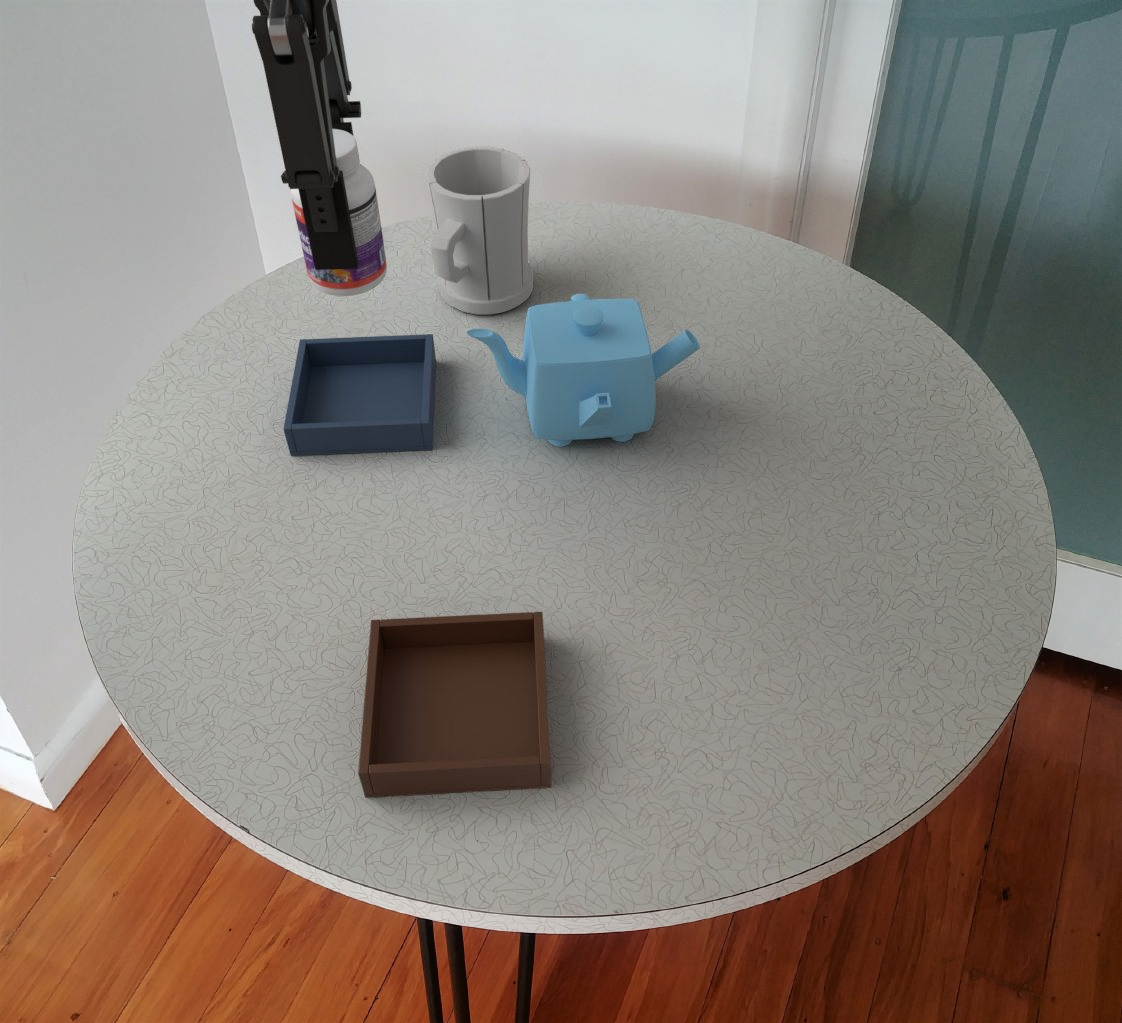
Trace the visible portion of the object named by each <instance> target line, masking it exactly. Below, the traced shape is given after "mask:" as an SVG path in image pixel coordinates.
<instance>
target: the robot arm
mask: <svg viewBox="0 0 1122 1023" xmlns="http://www.w3.org/2000/svg"><path fill="white" fill-rule="evenodd" d="M253 4H254V6H255V7H256V8H257V10H258V11H259V15H253V16H252V20H251V21H252V23H251V31H252V34H253V35H254V38H255V42H256V45H257V49H258V51H259V55H260V57H261V61H262V64H263V69H264V75H265V79H266V84H267V88H268V93H269V99H270V103H271V107H272V113H273V117H274V123H275V127H276V132H277V137H278V142H279V146H280V151H281V155H282V156H281V157H282V160H283V165H284V170H283V172H282V173H281V175H280V179H281V182H282V184H287V186H288V188H289V190H290V189H298V190H299V194H300V199H301V204H302V209H303V213H304V218H305V223H306V228H307V232H308V237H309V242H310V247H311V251H312V256H313V261H314V266H315V270H330V269H357V268H358V257H357V251H356V246H355V240H354V234H353V229H352V223H351V217H350V211H349V206H348V200H347V194H346V188H345V183H344V177H343V171H339V167H337V162H336V154H335V146H334V138H333V130H332V129H339V130H343V131H346V132H348V133H350V134H352V135H353V136H354V130H353V124H352V121H344V120H345V119H360V118H362V103H361V101H360V100H351V101H350V100H349V97H348V96H351V92H352V89H353V86H352V81H351V80H350V74H349V68H348V63H347V57H346V52H345V44H344V39H343V34H342V26H341V21H340V14H339V9H338V8H339V7H338V2H337V0H253Z"/></svg>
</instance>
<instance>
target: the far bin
mask: <svg viewBox="0 0 1122 1023" xmlns="http://www.w3.org/2000/svg"><path fill="white" fill-rule="evenodd" d="M434 339H435V338H434V334H433V333H425V334H424V333H423V334H400V335H399V334H398V335H376V336H354V337H353V336H352V337H329V338H303V339H299V342H298V348H297V353H296V358H295V364H294V369H293V376H292V379H291V380H292V381H291V386H290V391H289V397H288V402H287V407H286V414H285V419H284V424H283V433H284V436H285V440H286V443H287V448H288V451H289V455H290V457H301V456H303V457H304V456H324V455H325V456H326V455H345V454H347V455H348V454H349V455H350V454H368V453H369V454H370V453H392V452H394V453H395V452H414V451H415V452H416V451H417V452H418V451H433V448H434V446H433V445H434V424H435V421H434V420H435V400H436V399H435V398H436V397H435V396H436V375H437V374H436V372H437V356H436V349H435V348H436V347H435V340H434Z"/></svg>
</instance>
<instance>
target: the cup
mask: <svg viewBox="0 0 1122 1023" xmlns="http://www.w3.org/2000/svg"><path fill="white" fill-rule="evenodd" d="M425 178H426V183H427V188H428V193H429V198H430V203H431V208H432V212H433V214H432V215H433V219H434V224H435V230H436V231H435V232H434V234H432V237H431V241H430V245H429V247H430V252H431V257H432V263H433V268H434V272H435V275H436V276H437V277H438V278H437V282H438V290H439V293H440V295H441V298H442V299H443V300H444V301H445V302H446V303H447V304H448V305H449V306H450V307H453V308H455V309H457V310H459V311H461V312H463V313H466V314H472V315H476V316H477V315H478V316H479V315H480V316H481V315H482V316H483V315H484V316H485V315H486V316H492V315H497V314H501V313H502V314H503V313H505V312H509V311H510V310H513V309H515V308H517V307H518V306H520V305H521V304H522V303H524V302H526V300H528V299H529V297H530V296H531V294H532V292H533V291H534V270H533V268H532V266H531V265H530V262H529V236H528V235H529V232H528V231H529V229H528V227H529V198H530V182H531V181H530V180H531V167H530V165H529V164H528V162H527V161H526V159H525V158H523V157H522V156H521V155H519V154H518V153H516V152H514V151H511V150H509V149H506V148H501V147H495V146H490V145H489V146H487V145H485V146H484V145H483V146H481V145H479V146H478V145H476V146H468V147H462V148H457V149H454V150H451V151H448V152H446V153H444V154H442V155H441V156H439V157H437V158H435V159H434V160H433V162H431V164H430V165H429V166H428V167H427V171H426V175H425Z"/></svg>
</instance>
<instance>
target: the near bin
mask: <svg viewBox="0 0 1122 1023" xmlns="http://www.w3.org/2000/svg"><path fill="white" fill-rule="evenodd" d="M544 631H545V630H544V615H543V611H526V612H509V613H508V612H504V613H485V614H484V613H483V614H464V615H462V614H461V615H443V616H423V617H405V618H403V617H401V618H383V619H382V618H381V619H371V620H370V629H369V641H368V651H367V664H366V676H365V686H364V698H363V699H364V700H363V702H364V703H363V712H362V723H361V724H362V725H361V735H360V736H361V737H360V746H359V747H360V748H359V758H358V759H359V760H358V769H357V770H358V772H357V775H358V778H359V782H360V784H361V787H362V791H363V795H364V798H365V799H367V798H387V797H388V798H389V797H403V796H421V795H443V794H460V793H463V794H464V793H479V792H498V791H516V790H534V789H551V788H552V770H551V769H552V764H551V763H552V762H551V745H550V742H551V741H550V724H549V709H548V707H549V706H548V705H549V704H548V688H547V671H546V670H547V669H546V652H545V651H546V649H545V636H544V635H545V634H544V633H545V632H544Z"/></svg>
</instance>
